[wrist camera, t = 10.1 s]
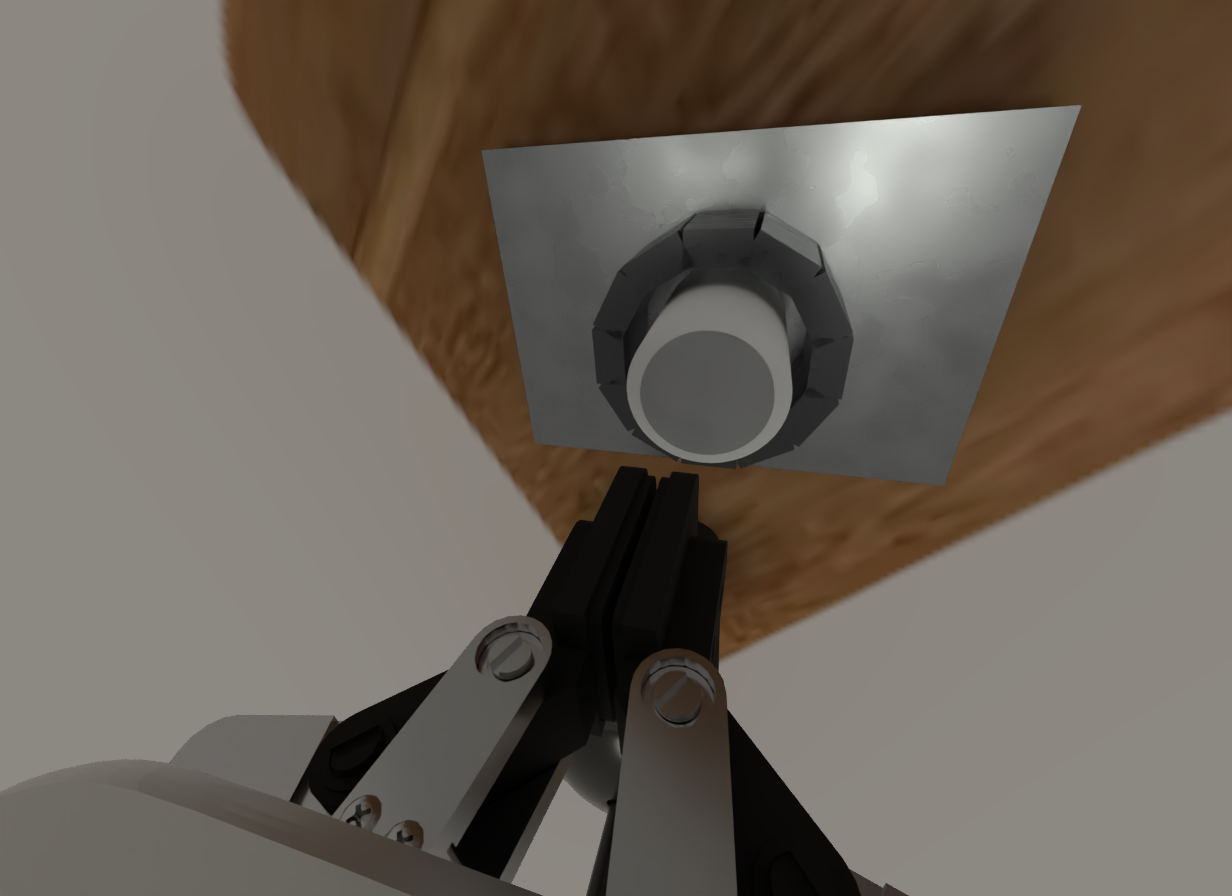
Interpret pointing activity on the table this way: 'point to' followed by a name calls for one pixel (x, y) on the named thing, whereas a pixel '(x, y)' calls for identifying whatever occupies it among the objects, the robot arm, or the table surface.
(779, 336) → the white cylinder
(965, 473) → the table surface
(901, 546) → the table surface
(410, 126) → the table surface
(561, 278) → the lens mount
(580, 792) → the drinking cup
